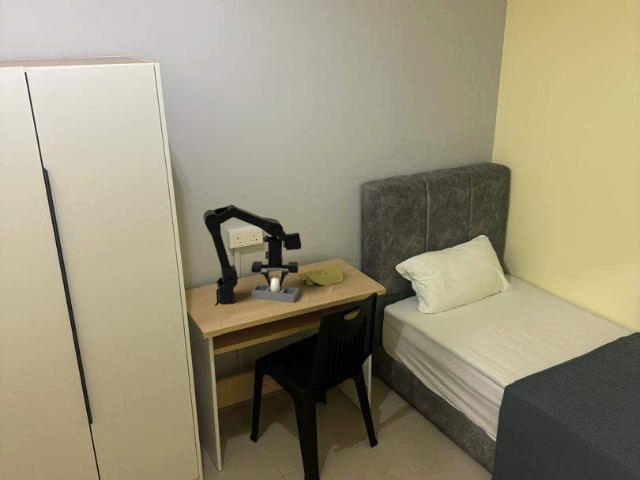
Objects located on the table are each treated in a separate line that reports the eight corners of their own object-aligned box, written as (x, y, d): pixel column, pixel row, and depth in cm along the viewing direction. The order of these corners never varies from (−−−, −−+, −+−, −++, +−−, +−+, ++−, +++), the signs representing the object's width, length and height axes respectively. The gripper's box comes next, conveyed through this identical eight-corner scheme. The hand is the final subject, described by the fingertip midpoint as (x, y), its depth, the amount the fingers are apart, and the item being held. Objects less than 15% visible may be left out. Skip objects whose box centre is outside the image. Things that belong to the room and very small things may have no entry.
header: (251, 300, 241) (251, 291, 240) (257, 292, 248) (257, 283, 247) (293, 305, 237) (293, 296, 236) (298, 297, 245) (298, 288, 243)
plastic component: (326, 268, 269) (341, 264, 262) (330, 283, 269) (344, 281, 261) (293, 275, 256) (307, 272, 249) (297, 292, 256) (311, 289, 248)
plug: (270, 297, 240) (269, 278, 238) (270, 293, 244) (270, 274, 241) (279, 297, 240) (279, 278, 238) (280, 293, 244) (280, 274, 241)
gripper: (298, 244, 243) (298, 278, 249) (253, 243, 243) (254, 278, 248) (298, 254, 233) (297, 289, 238) (251, 253, 233) (251, 289, 238)
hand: (275, 286), depth 241 cm, fingers closed on plug, 4 cm apart
